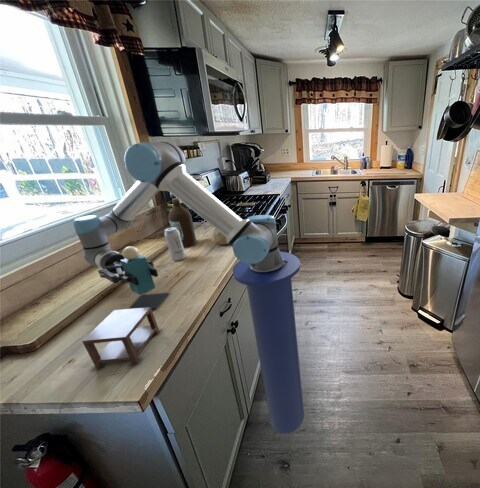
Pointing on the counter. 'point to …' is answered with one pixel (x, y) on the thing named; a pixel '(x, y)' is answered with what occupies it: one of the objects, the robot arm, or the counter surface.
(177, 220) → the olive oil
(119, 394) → the counter surface
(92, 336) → the small wooden table
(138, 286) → the toy
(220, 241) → the low-poly potato
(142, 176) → the robot arm
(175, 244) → the energy drink can
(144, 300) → the coaster
